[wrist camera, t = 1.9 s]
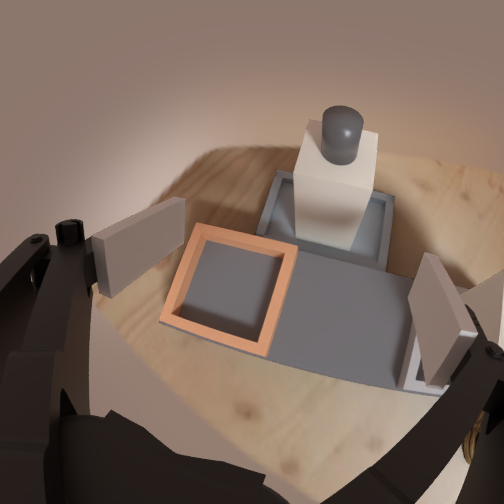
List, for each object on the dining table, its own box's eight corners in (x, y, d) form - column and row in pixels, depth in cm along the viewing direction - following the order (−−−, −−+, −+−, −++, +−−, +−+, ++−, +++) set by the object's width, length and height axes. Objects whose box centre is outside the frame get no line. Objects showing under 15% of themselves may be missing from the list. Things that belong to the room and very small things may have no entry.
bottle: (357, 204, 28) (385, 102, 16) (349, 251, 26) (383, 160, 14) (307, 193, 29) (308, 87, 17) (295, 238, 27) (291, 140, 15)
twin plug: (479, 318, 20) (585, 271, 8) (469, 376, 18) (582, 366, 6) (433, 308, 21) (535, 248, 9) (422, 369, 19) (532, 359, 7)
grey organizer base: (484, 308, 22) (509, 297, 18) (468, 399, 20) (494, 402, 15) (204, 239, 29) (190, 218, 25) (172, 327, 26) (150, 319, 22)
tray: (391, 203, 28) (394, 196, 26) (381, 277, 25) (385, 273, 24) (278, 177, 31) (277, 169, 29) (255, 246, 28) (252, 240, 27)
